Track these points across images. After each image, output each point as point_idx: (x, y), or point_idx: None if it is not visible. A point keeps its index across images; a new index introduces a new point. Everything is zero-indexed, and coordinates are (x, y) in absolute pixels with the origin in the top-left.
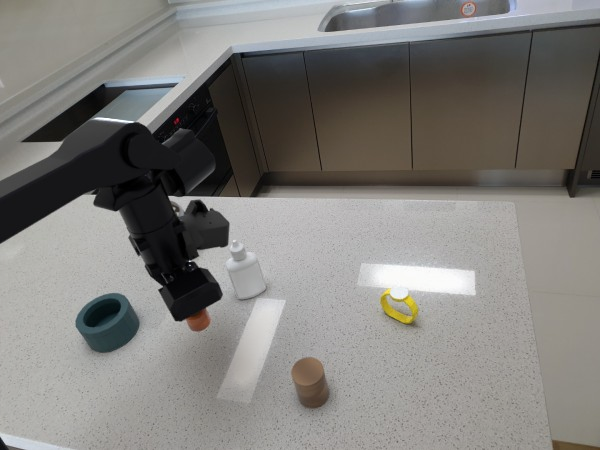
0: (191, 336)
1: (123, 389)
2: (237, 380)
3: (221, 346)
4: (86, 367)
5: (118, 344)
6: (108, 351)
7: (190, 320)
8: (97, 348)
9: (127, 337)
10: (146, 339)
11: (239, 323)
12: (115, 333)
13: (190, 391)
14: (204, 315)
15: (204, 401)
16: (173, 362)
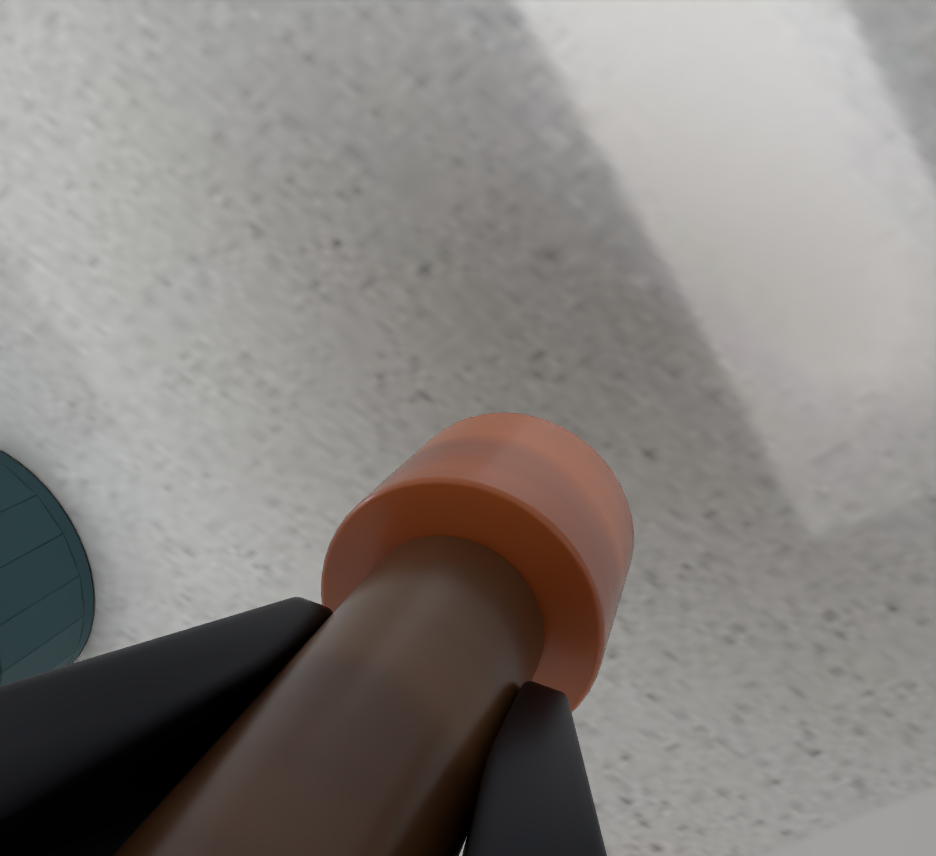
0: (306, 337)
1: None
2: (843, 379)
3: (527, 265)
4: None
5: (77, 620)
6: (79, 653)
7: None
8: None
9: (67, 572)
10: (139, 504)
11: (469, 40)
12: (15, 647)
13: (634, 590)
14: (603, 579)
15: (765, 592)
16: None
